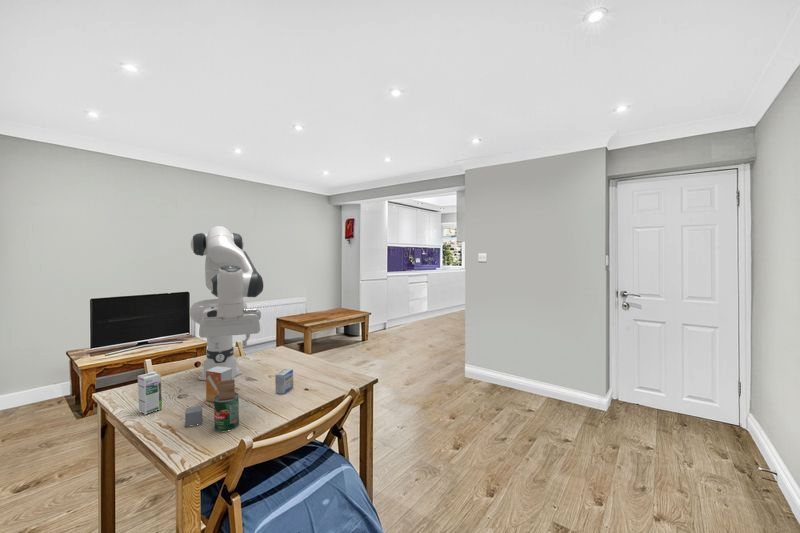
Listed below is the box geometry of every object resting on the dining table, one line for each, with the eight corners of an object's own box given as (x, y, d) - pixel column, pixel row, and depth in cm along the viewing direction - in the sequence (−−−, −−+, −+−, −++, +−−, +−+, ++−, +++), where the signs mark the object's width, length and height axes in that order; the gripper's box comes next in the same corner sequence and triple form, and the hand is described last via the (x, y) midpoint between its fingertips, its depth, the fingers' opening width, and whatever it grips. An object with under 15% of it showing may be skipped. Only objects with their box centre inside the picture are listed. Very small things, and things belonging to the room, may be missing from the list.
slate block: (186, 421, 127) (186, 408, 127) (202, 418, 129) (202, 405, 129) (185, 427, 123) (185, 413, 122) (201, 424, 125) (201, 411, 124)
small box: (205, 401, 144) (205, 370, 143) (218, 395, 150) (217, 365, 149) (221, 404, 141) (220, 372, 141) (233, 397, 147) (232, 367, 147)
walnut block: (219, 394, 124) (219, 381, 124) (234, 392, 126) (234, 379, 126) (218, 400, 120) (218, 386, 119) (234, 397, 122) (234, 383, 122)
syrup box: (145, 415, 131) (144, 378, 130) (138, 411, 134) (137, 375, 133) (162, 409, 136) (161, 373, 135) (155, 406, 139) (154, 370, 138)
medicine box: (284, 394, 151) (284, 375, 151) (275, 393, 152) (275, 374, 152) (293, 387, 159) (293, 369, 158) (284, 386, 160) (284, 368, 159)
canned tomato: (242, 420, 128) (241, 391, 127) (234, 431, 120) (234, 400, 119) (219, 421, 127) (219, 392, 126) (210, 432, 119) (209, 401, 119)
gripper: (260, 307, 134) (260, 341, 135) (199, 309, 125) (200, 347, 126) (261, 310, 129) (261, 346, 130) (198, 313, 120) (198, 352, 121)
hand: (230, 346), depth 128 cm, fingers open, 8 cm apart
